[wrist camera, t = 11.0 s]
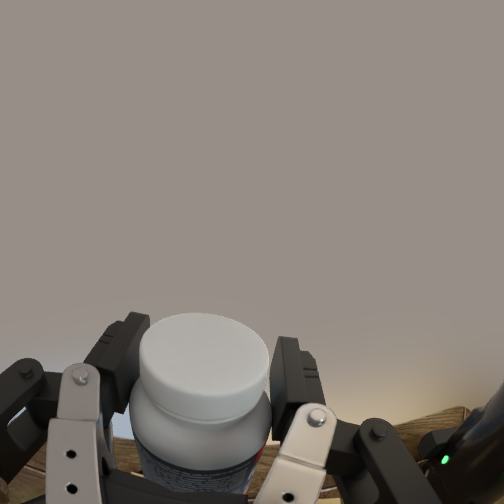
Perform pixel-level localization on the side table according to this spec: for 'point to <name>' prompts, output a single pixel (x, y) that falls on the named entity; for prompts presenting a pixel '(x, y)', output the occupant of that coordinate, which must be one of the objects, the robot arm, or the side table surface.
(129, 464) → the side table surface
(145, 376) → the pill bottle
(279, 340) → the robot arm
